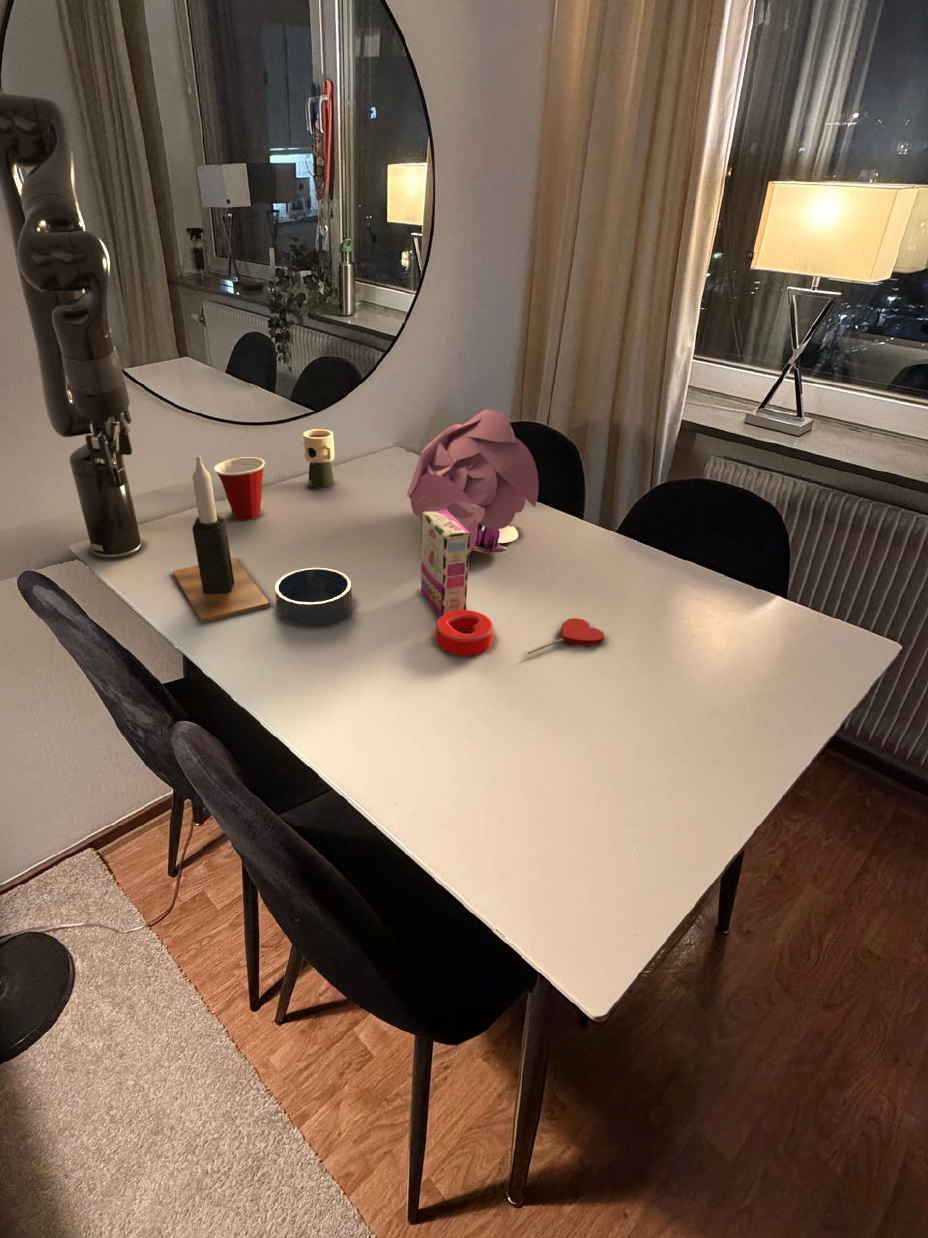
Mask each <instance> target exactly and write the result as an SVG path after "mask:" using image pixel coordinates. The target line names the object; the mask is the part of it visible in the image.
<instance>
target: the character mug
mask: <svg viewBox="0 0 928 1238" xmlns="http://www.w3.org/2000/svg"><path fill="white" fill-rule="evenodd" d="M302 436H303V437H302V439H303V440H302V441H303V442H302V443H303V446H304V459H305V461H306V462H309V464H308V465H309V466H308V482H310V486H311V487H313V488H326V487H328V486H331V485H334V483H335V479H334V473H333V468H332V464H331V461H333V460H334V459H335V442H334V432H333V431H331V430H328V429H321V428H320V429H319V428H314V429H309V430H306V431H304V432H303V434H302Z"/></svg>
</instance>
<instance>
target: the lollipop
mask: <svg viewBox="0 0 928 1238" xmlns="http://www.w3.org/2000/svg"><path fill="white" fill-rule="evenodd" d="M560 635H561V638H560V639H557V640H554V641H552V642H550V643H547V644H545V645H542V646H540V647H536V648H535V649H532V650H530V651H527V652H526V653H527V655H530V654H532V653H535V652H537V651H540V650H542V649H545V648H547V647H550V646H553V645H555V644H557V643H560V642H566V643H569V644H570V643H571V644H575V645H582V646H583V645H584V646H593V645H599V644H602V642H604V640H605V633H604V632H603V631H602V630H600V629H599V628H596V627H591V626H590V624H589V622H588V621H586V620H585V619H583V618H579V617H572V618H568V619H566V620H564V621H563V623H562V625H561V627H560Z"/></svg>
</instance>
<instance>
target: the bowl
mask: <svg viewBox="0 0 928 1238" xmlns="http://www.w3.org/2000/svg"><path fill="white" fill-rule="evenodd" d="M274 591H275V600H276V610H277V613H278V615H279V617H281V618H282V619H284V620H285V621H287V622H289V623H291V624H295V625H299V626H311V627H312V626H321V625H322V626H323V625H327V624H331V623H334V622H337V621H338V620H341V619H342V618H345V617H346V616H347V615H348V614H349V613H350V612H351V609H352V607H353V592H352V591H353V589H352V582H351V579H350V578H349V577H348V575H346V573H343V572H341V571H339V570H337V569H336V570H335V569H331V568H327V567H308V568H302V569H298V570H294V571H290V572H289V573H287V574H284V575H283V576H282V577H280V578H279V579H278V580H277V581H276V583H275V585H274Z"/></svg>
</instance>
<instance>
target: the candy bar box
mask: <svg viewBox="0 0 928 1238" xmlns="http://www.w3.org/2000/svg"><path fill="white" fill-rule="evenodd" d="M422 514H423V519H422V520H423V521H421V522H422V526H421V528H422V529H421V530H422V531H421V532H422V533H421V574H420V575H421V576H420V577H421V578H420V581H421V582H420V584H421V585H420V592H421V594H422V595H423V597H425V599H426V600H427V602H428V603H429V604H430V605H431V607H432V608H433V609H434V610H435V611H434V612H436V613H437V615H438V616H439V618H440V617H441V616H443V615H444V614H446V613H448V612H452V611H457V610H467V597H468V596H467V595H468V579H469V578H468V577H469V563H470V553H469V547H470V532H469V531H467V530H466V529H465V528H464V527H463V526H462V525H461V524H460V523H459V522H458V521H457V520H456V519H455V518H454V517H453V516H452V515H451V514H450V513H449V512H448V511H447V510H437V511H430V512H423V513H422Z"/></svg>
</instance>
